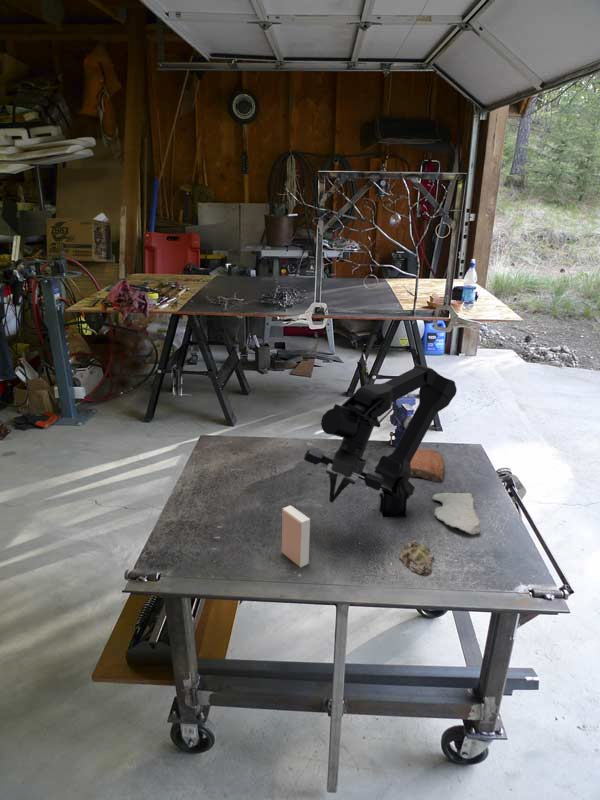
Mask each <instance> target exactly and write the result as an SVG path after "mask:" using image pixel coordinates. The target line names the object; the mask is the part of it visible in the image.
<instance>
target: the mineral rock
mask: <svg viewBox="0 0 600 800" xmlns="http://www.w3.org/2000/svg"><path fill="white" fill-rule="evenodd" d="M398 558H399V560H401V561H402V563H403V564H404V566H406V567H407V568H409V570H411V572H413V573H415V572H416V573H417V574H418V575H424V576H428V575H429V574H430V573H432V570H433V569H432V563H433V562H434V561H435V555H434V554H433V553H431V550H430V549H429V547H427V546H426V545H424V544H422V543H421V542H420V541H418V540H416V539H415V540H414V539H413V540H412V541H411V542H407V543H406V544H405V546H403V547H402V549H401V551H399V556H398ZM429 572H430V573H429Z"/></svg>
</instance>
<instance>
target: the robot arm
mask: <svg viewBox="0 0 600 800" xmlns="http://www.w3.org/2000/svg"><path fill="white" fill-rule="evenodd" d="M417 390H419V391H418V398H419V399H418V400H419V404H418V406H417V407H416V409H415V411H414V413H413V415H412V416H411V419H410V421H409V423H408V424H407V426H406V428H405V429H404V432H403V433H402V435H401V437H400V439H399V441H398V443H397V444H396V447H395V448H394V450H393V452H392V453H390V454H389V455H387V456H386V455H382V456H381V457H380V458H379V459H380V460H379V461H378V463H377V465H376V466H375V467H374V470H373V471H372V470H368V471H367V472H365V471H364V468H365V466H366V463H367V460H366V459H363V455H364V453H365V451H366V448H367V445H368V443H369V440H370V437H371V435H372V432H373V430H374V428H375V427H376V428H381V423H380V421H379V419H378V418H379V417H382V416H383V415H384V414H385V413H386V412H388V411H389V410H390V409H391V408H392V406H393V403H394V402H395V401H397V400H399V399H402V398H403V397H405V396H406V395H408V394H411V393H412V392H414V391H417ZM457 390H458V389H457V386H456V382H455V381H454V380H452V379H449V378H446V377H445V376H443V375H441V374H439V373H438V372H437V371H436V370H435V369H433V367H432V368H431V367H429V366H426V365H423V364H416V365H414V367H412V368H411V369H409V370H408V371H405V372H404V373H402V374H400V375H397V376H395V377H394V378H392V379H389V380H388V381H385V382H382V383H370V384H365V385H363V386H360V387H359V388H358V389H357V390H356V391H355V392H354V393H353V394H352V395H351V396H350V397H349V398H348V399H347V400H346V401H344V403H342V404H341V405H340V404H338V403H335V404H334V405H333V408H330V409H329V410H327V411H326V412H325V413H324V414H323V415H322V417H321V421H320V422H321V423H320V424H321V429H322V431H323V432H324V434H327V435H330V436H335V437H340V438H342V439H341V443H340V445H339V447H338V449H337V450H336V451H335V454H334V457H333V458H332V457H329V456H327V452H326V451H323V450H322V449H320V448H318V447H317V448H316V447H311V448H309V449H307V450H306V452H305V455H304V457H303V460H304V461H305V462H308V463H310V464H313V465H318V464H319V465H320V463H322V464H323V465H326V467H327V469H325V473H326V474H327V475H328V477H329V503H331V504H333V503H334V502H335V500H336V499H337V498H338V497H339V495H340V494H341V493H342V491H344V490H345V489H346V488H347V486H349V485H350V484H352V485H355V484H356V483H357V481H358V479H360V480H362V481H364V484H365V486H366V487H368V488H371V489H373V490H375V491H380V493H378V500H377V507H378V512H380V513H381V517H382V518H383V519H384V518H385V519H388V518H407V517H408V513H407V511H406V510H407V504H408V503H407V501H408V500H410V497H411V496H412V495H413V494H414V492H415V488H416V487H415V486H414V485H413V484H412V482H410V481H409V480H410V478H411V477H410V475H411V466H410V462H411V460H412V458H413V456H414V454H415V453H416V451H417V450H419V449H418V448H419V447H420V445H421V443H422V441H423V439H424V437H425V436H426V434H427V431H428V430H429V428H430V427H431V425H432V422H433V421H434V419H435V417H436V415H437V414H438V413H439V412H441V411H442V410H444V409H445V408H447V407H449V405H450V403H451V402H452V400H453V399H454V397H455V396H456V394H457ZM340 475H342V476H344V477H343V478H342V480H341V481H340V483H339V485H338V481H339V479H340V478H339V477H340ZM337 485H338V487H337Z"/></svg>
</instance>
